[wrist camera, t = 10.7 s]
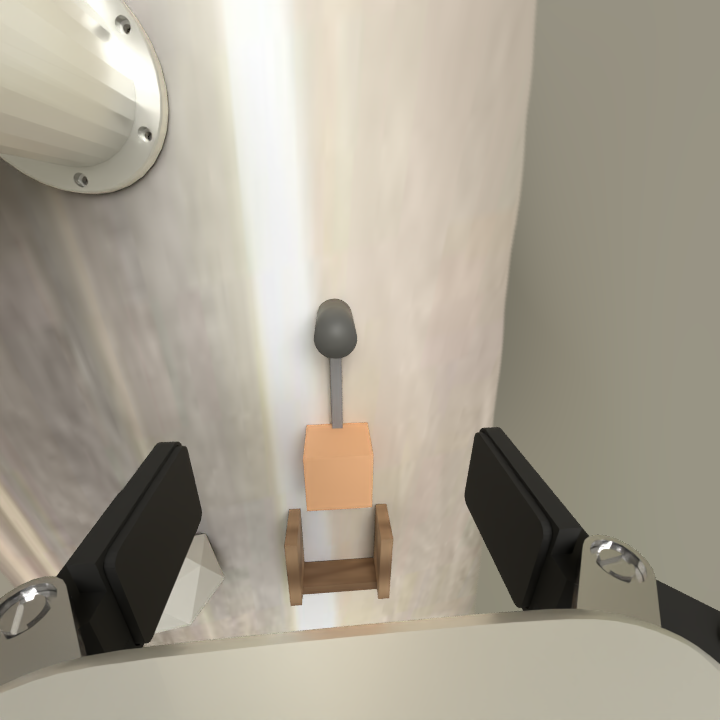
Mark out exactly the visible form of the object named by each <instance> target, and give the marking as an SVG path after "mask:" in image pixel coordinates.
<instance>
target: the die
mask: <svg viewBox="0 0 720 720" xmlns="http://www.w3.org/2000/svg"><path fill="white" fill-rule="evenodd" d="M224 578H225V577H224V575H223V573H222V570H221V568H220V566H219V563H218V561H217V559H216V557H215V554H214V552H213V550H212V547H211V545H210V543H209V541H208V538H207V536H206V534H201V535H195V536H194V538H193V541H192V543H191V546H190V548H189V550H188V553H187V555H186V558H185V560H184V563H183V565H182V568H181V570H180V572H179V575H178V577H177V580H176V582H175V585H174V587H173V589H172V592H171V594H170V597H169V599H168V602H167V604H166V606H165V609H164V611H163V614H162V616H161V619H160V621H159V623H158V626H157V628H156V631H155V633H159V632H163V631H167V630H171V629H176V628H180V627H184V626H188V625H191V624H192V622H193V621H194V620H195V618H196V617H197V615H198V614H199V613H200V611H201V610H202V609H203V607H204V606H205V604H206V603H207V602H208V600H209V599H210V597H211V596H212V595H213V593H214V592H215V591H216V589H217V588H218V586H219V585H220V584H221V582H222V581H223V580H224ZM155 633H154V634H155Z"/></svg>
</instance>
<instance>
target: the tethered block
mask: <svg viewBox="0 0 720 720" xmlns="http://www.w3.org/2000/svg"><path fill="white" fill-rule="evenodd" d="M314 342H315V345H316V348H317V349H318V351H319V352H320V353H321V354H323V355H324V356H326V357H328V358H330V373H331V404H332V424H321V425H307V428H306V437H305V446H304V455H303V464H304V477H305V490H306V503H307V511H318V510H334V509H350V508H366V507H372V488H373V450H372V445H371V439H370V434H369V429H368V423H344V424H343V421H342V366H341V358H343V357H345V356H347V355H349V354H350V353H351V352H352V351H353V349H354V348H355V346H356V343H357V334H356V330H355V325H354V321H353V317H352V312H351V309H350V307H349V306H348V305H347V304H346V303H345V302H344V301H342V300H339V299H330V300H327V301H325V302H324V303H322V304H321V306H320V307H319V309H318V312H317V319H316V327H315V334H314Z"/></svg>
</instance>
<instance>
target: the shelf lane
mask: <svg viewBox="0 0 720 720" xmlns="http://www.w3.org/2000/svg"><path fill="white" fill-rule="evenodd" d="M284 548H285V557H286V566H287V576H288V585H289V594H290V603H291V606H295V605H302V597H303V594H316V593H329V592H342V591H355V590H368V589H377V592H378V599H383V598H389V592H390V577H391V563H392V548H393V536H392V531H391V526H390V520H389V515H388V510H387V505H386V504H377V505H376V510H375V536H374V558H361V559H347V560H332V561H318V562H304V550H303V537H302V524H301V511H300V509H289V516H288V523H287V530H286V537H285V545H284Z"/></svg>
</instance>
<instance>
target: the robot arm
mask: <svg viewBox="0 0 720 720" xmlns="http://www.w3.org/2000/svg"><path fill="white" fill-rule="evenodd" d="M128 28H131V30H130V32H129V34H127V30H128ZM167 121H168V101H167V90H166V85H165V81H164V77H163V73H162V69H161V65H160V63H159V60H158V58H157V55H156V53H155V51H154V48H153V46H152V43H151V41H150V40H149V38H148V36H147V34H146V33H145V31H144V29H143V28H142V26H141V24H140V22H139V21H138V19H137V18H136V16H135V15H134V14H133V13H132V11H131V10H130V9H129V8H128V6H127V5H126V4H125V3H124V1H123V0H0V157H1V158H2V159H3V160H5V161H6V162H7V163H9V164H10V165H12V166H13V167H14V168H16V169H17V170H19V171H20V172H21V173H23V174H25V175H27V176H29V177H31V178H33V179H35V180H36V181H38V182H40V183H42V184H45V185H48V186H51V187H54V188H57V189H60V190H64V191H71V192H77V193H88V194H101V193H108V192H114V191H117V190H120V189H122V188H125V187H128V186H130V185H131V184H133V183H134V182H136V181H137V180H138V179H140V178H141V177H143V176H144V175H145V173H146V172H147V171H148V170H149V169H150V168H151V167H152V165H153V164H154V162H155V161H156V159H157V157H158V155H159V153H160V151H161V149H162V146H163V142H164V139H165V135H166V132H167ZM149 133H151V134H152V139H151V140H149V139H148V134H149ZM86 179H87V180H88V184H87V182H86ZM465 501H466V504H467V507H468V509H469V511H470V513H471V515H472V517H473V519H474V521H475V523H476V525H477V527H478V529H479V531H480V534H481V536H482V538H483V540H484V542H485V544H486V546H487V548H488V550H489V552H490V554H491V556H492V558H493V560H494V562H495V565H496V566H497V569H498V571H499V573H500V575H501V577H502V579H503V581H504V583H505V585H506V587H507V589H508V591H509V594H510V595H511V598H512V600H513V602H514V603H515V605H516V606H517V607H518V608H522V609H523V611H514V612H499V613H487V614H475V615H464V616H453V617H442V618H430V619H419V620H408V621H397V622H387V623H376V624H365V625H355V626H344V627H334V628H324V629H313V630H303V631H292V632H282V633H272V634H263V635H253V636H243V637H233V638H223V639H213V640H203V641H193V642H184V643H176V644H168V645H159V646H151V647H143V645H144V643H149V642H150V641H151V639H152V637H153V635H154V633H155V631H156V628H157V626H158V623H159V621H160V619H161V616H162V614H163V611H164V609H165V606H166V604H167V602H168V599H169V597H170V594H171V592H172V589H173V587H174V585H175V582H176V580H177V577H178V575H179V572H180V570H181V568H182V565H183V563H184V560H185V558H186V555H187V553H188V550H189V548H190V546H191V543H192V541H193V538H194V536H195V533H196V531H197V529H198V526H199V524H200V521H201V516H202V510H201V505H200V501H199V496H198V492H197V488H196V484H195V479H194V475H193V471H192V467H191V462H190V458H189V454H188V450H187V447H186V446H182V445H181V443H180V442H160V443H158V444H157V445H156V446H155V447H154V448H153V450H152V451H151V452H150V454H149V455H148V456H147V458H146V459H145V460H144V462H143V463H142V464H141V466H140V467H139V468H138V470H137V471H136V473H135V474H134V475H133V477H132V478H131V479H130V481H129V482H128V483H127V485H126V486H125V487H124V489H123V490H122V491H121V492H120V493H119V494H118V495H117V496H116V497H115V499H114V500H113V501H112V503H111V504H110V505H109V507H108V508H107V509H106V511H105V512H104V513H103V515H102V516H101V517H100V519H99V520H98V521H97V523H96V524H95V525H94V527H93V528H92V529H91V531H90V532H89V534H88V535H87V536H86V538H85V539H84V540H83V542H82V543H81V544H80V546H79V547H78V548H77V550H76V551H75V552H74V554H73V555H72V556H71V558H70V559H69V560H68V562H67V563H66V564H65V566H64V567H63V568H62V570H61V571H60V572H59V574H58V575H57V576H56V577H42V578H38V579H34V580H31V581H29V582H27V583H24V584H22V585H20V586H18V587H17V588H15V589H13V590H12V591H10V592H8V593H7V594H5V595H4V596H3V597H2V598H0V720H720V611H718V610H716V609H714V608H712V607H710V606H708V605H705V604H704V603H702V602H700V601H698V600H696V599H694V598H692V597H690V596H688V595H686V594H684V593H682V592H680V591H678V590H676V589H674V588H672V587H670V586H668V585H666V584H664V583H661V582H660V581H658V580H656V577H655V574H654V571H653V568H652V567H651V566H650V564H649V563H648V561H647V560H646V559H645V558H644V557H643V556H642V555H641V554H640V553H639V552H638V551H637V550H635V549H634V548H632V547H631V546H630V545H628V544H626V543H624V542H622V541H620V540H618V539H616V538H613V537H610V536H607V535H598V534H597V535H591V536H589V535H588V534H587V533H586V532H585V531H584V529H583V528H582V527H581V526H580V524H579V523H578V522H577V521H576V519H575V518H574V517H573V516H572V515H571V513H570V512H569V511H568V510H567V509H566V507H565V506H564V505H563V504H562V502H560V500H559V499H558V497H557V496H556V495H555V494H554V493H553V491H552V490H551V489H550V488H549V487H548V485H547V484H546V483H545V482H544V481H543V479H542V478H541V477H540V475H539V474H538V473H537V472H536V471H535V470H534V469H533V467H532V466H531V465H530V464H529V462H528V461H527V460H526V459H525V457H524V456H523V455H522V454H521V453H520V451H519V450H518V449H517V448H516V446H515V445H514V444H513V443H512V442H511V440H510V439H509V438H508V437H507V435H505V433H504V432H503V431H502V429H501V428H498V427H493V428H482V429H481V430H480V432H479V433H476V434H475V437H474V443H473V448H472V454H471V460H470V465H469V471H468V477H467V483H466V488H465ZM142 647H143V648H142Z"/></svg>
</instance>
